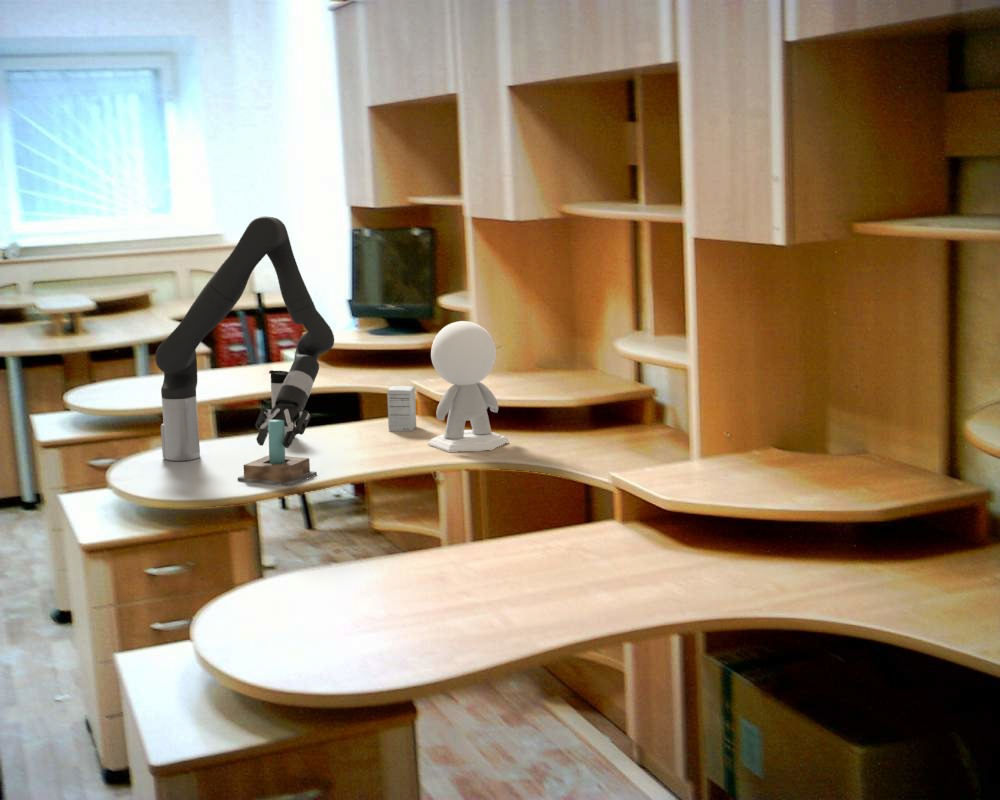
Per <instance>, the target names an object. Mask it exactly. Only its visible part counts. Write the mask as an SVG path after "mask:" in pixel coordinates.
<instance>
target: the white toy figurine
mask: <svg viewBox="0 0 1000 800" xmlns="http://www.w3.org/2000/svg"><path fill="white" fill-rule="evenodd" d="M430 350H431V351H430V359H431V364H432V366H433V368H434V370H435V372H436V373H437V375H438V376H439V377H440V378H441V379H443V381H444V380H445V382H448V383H449V384H451V386H450V387H449V388H448V389H447V390H446V392H445V393H444V394H443V396H442V397H441V399H440V401H439V403H438V405H437V407H436V413H435V414H436V419H437V420H439V421H445V420H446V425H445V426H446V427H445V432H444V433H442V434H439V435H437V436H436V437H432V438H430V440H429V441H428V443H427V445H428V446H429V445H430V447H432V446H433V447H432V448H435V447H436V449H438V448H439V450H441V449H442V450H441V451H444V450H445V451H444V452H447V451H448V453H459V452H458V451H476V452H483V451H482V450H491V449H493V448H496V447H498V446H500V445H502V444H505V443H507V442H509V443H510V440H509V438H507V437H506V436H504V435H502V434H498V433H497V432H492V429H491V424H490V419H489V415H488V409H489V410H490V412H493V413H497V414H498V411H499V404H498V403H499V402H498V400H497V398H496V396H495V394H493V391H491V389H489V387H488V386H486V385H485V384H484V383H483V382H481V381H483V380H484V379H486V378H487V377H488V376H489V375H490V373H491V372H492V370H493V369H494V366H495V363H496V359H497V358H496V357H497V350H496V344H495V341H494V339H493V338H492V335H491V334H490V332H488V331H487V330H486V329H485V328H484V327H483V326H482V325H480V324H478V323H476V322H472V321H469V320H467V321H466V320H459V321H455V322H451V323H449V324H446V325H445V326H444V327H443V328H441V330H439V331H438V333H437V334H436V335H435V338H434V339H433V342H432V345H431V349H430ZM446 416H447V419H445V418H446ZM467 421H470V425H471V429H465V427H466V422H467ZM507 444H508V443H507ZM505 445H506V444H505ZM500 447H501V446H500ZM498 448H499V447H498ZM496 449H497V448H496Z"/></svg>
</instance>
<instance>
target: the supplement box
mask: <svg viewBox="0 0 1000 800" xmlns="http://www.w3.org/2000/svg"><path fill="white" fill-rule="evenodd" d="M386 392H387V393H386V394H387V395H386V397H387V415H388V416H387V420H388V431H389V432H413V431H414V429H415V428H417V410H416V409H417V407H416V404H417V403H416V386H415V385H414V386H413V385H392V386H390V387H389V389H387V390H386Z"/></svg>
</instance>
